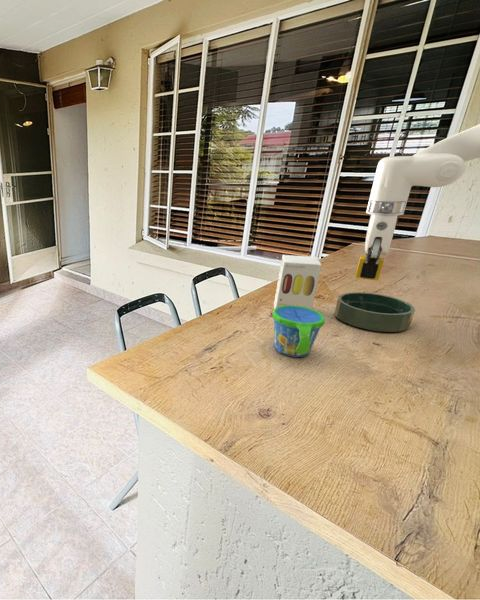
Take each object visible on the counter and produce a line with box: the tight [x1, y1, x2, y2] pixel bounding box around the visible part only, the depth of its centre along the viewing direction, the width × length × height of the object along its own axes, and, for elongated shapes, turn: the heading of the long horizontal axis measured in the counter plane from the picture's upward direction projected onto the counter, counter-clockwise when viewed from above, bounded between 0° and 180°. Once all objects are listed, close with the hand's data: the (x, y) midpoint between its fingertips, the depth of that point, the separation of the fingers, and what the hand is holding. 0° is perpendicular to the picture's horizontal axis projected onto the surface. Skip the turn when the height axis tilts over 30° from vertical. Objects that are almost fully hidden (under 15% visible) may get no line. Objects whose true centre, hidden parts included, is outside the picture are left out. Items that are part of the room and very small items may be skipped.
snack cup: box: [272, 306, 326, 358], centre depth 85 cm, size 16×10×10 cm
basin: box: [333, 291, 416, 333], centre depth 98 cm, size 17×17×6 cm
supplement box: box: [273, 254, 322, 310], centre depth 104 cm, size 10×9×17 cm
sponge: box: [354, 255, 385, 281], centre depth 95 cm, size 5×3×6 cm, turn 52°
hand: (367, 275), depth 96 cm, fingers closed on sponge, 3 cm apart
